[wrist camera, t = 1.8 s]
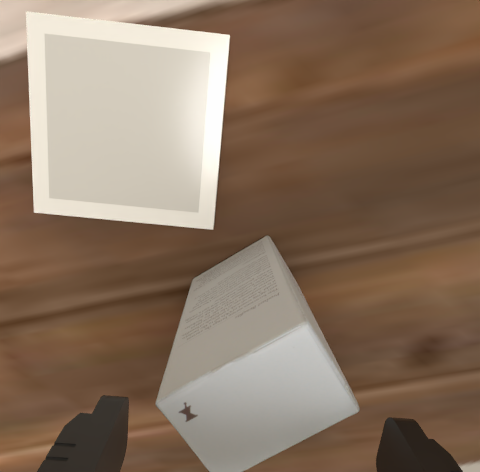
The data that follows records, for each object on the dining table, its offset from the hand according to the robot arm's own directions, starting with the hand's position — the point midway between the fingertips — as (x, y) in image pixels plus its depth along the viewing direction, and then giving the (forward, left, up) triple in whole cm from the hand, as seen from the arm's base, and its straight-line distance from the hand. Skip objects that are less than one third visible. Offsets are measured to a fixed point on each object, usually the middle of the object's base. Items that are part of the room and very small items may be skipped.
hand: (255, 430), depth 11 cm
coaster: (+8, -9, -13) cm, 18 cm away
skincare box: (0, 0, -13) cm, 13 cm away
